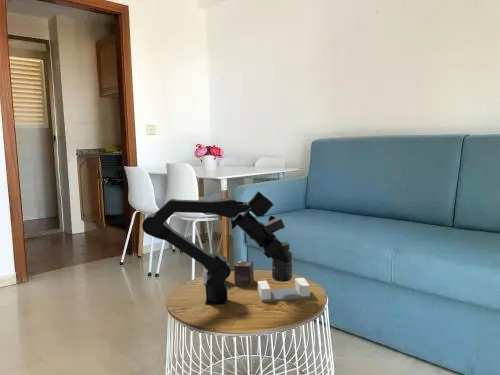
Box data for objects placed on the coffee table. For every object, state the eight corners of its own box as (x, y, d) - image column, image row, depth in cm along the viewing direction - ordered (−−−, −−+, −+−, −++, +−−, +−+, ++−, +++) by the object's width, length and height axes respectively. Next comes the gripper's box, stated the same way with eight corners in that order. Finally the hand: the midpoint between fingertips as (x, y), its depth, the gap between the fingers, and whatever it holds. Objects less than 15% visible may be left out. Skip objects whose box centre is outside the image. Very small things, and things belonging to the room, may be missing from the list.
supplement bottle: (268, 279, 139) (267, 244, 138) (279, 274, 144) (278, 240, 143) (286, 283, 135) (285, 247, 134) (296, 277, 140) (296, 242, 139)
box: (250, 286, 150) (250, 266, 150) (234, 285, 152) (233, 265, 151) (254, 280, 156) (253, 261, 155) (238, 280, 157) (237, 261, 157)
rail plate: (261, 302, 135) (261, 289, 134) (257, 292, 144) (257, 280, 143) (310, 298, 137) (310, 286, 136) (303, 288, 146) (303, 277, 145)
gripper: (274, 214, 127) (310, 247, 130) (264, 205, 146) (296, 235, 148) (249, 240, 127) (285, 274, 130) (242, 228, 146) (274, 258, 148)
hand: (286, 258), depth 139 cm, fingers closed on supplement bottle, 7 cm apart
